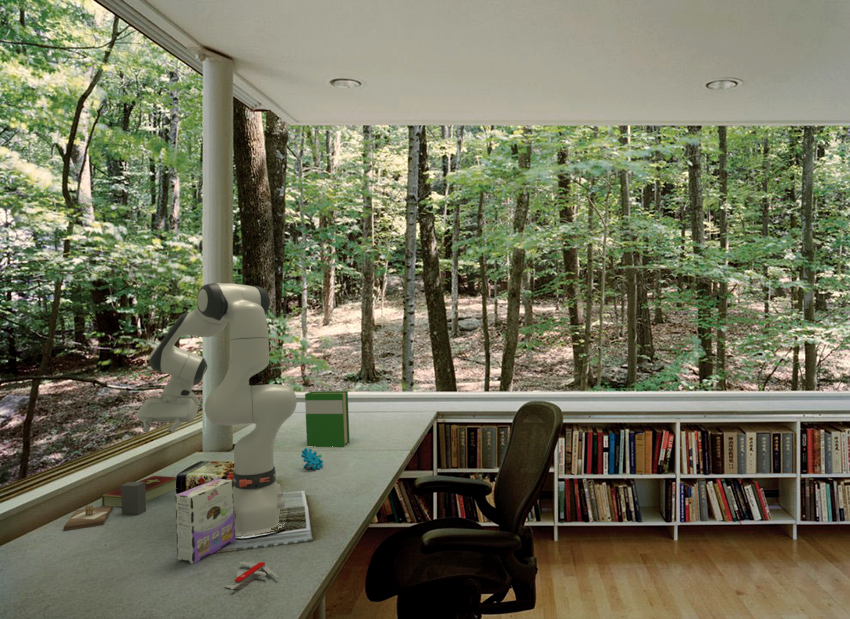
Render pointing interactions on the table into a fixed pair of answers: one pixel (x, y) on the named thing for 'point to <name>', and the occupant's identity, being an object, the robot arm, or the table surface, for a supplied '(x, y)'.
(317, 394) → the hardback book
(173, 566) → the table surface
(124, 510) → the block
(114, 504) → the hardcover book
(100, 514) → the board
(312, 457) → the gear
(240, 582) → the swiss army knife
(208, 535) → the candy box
